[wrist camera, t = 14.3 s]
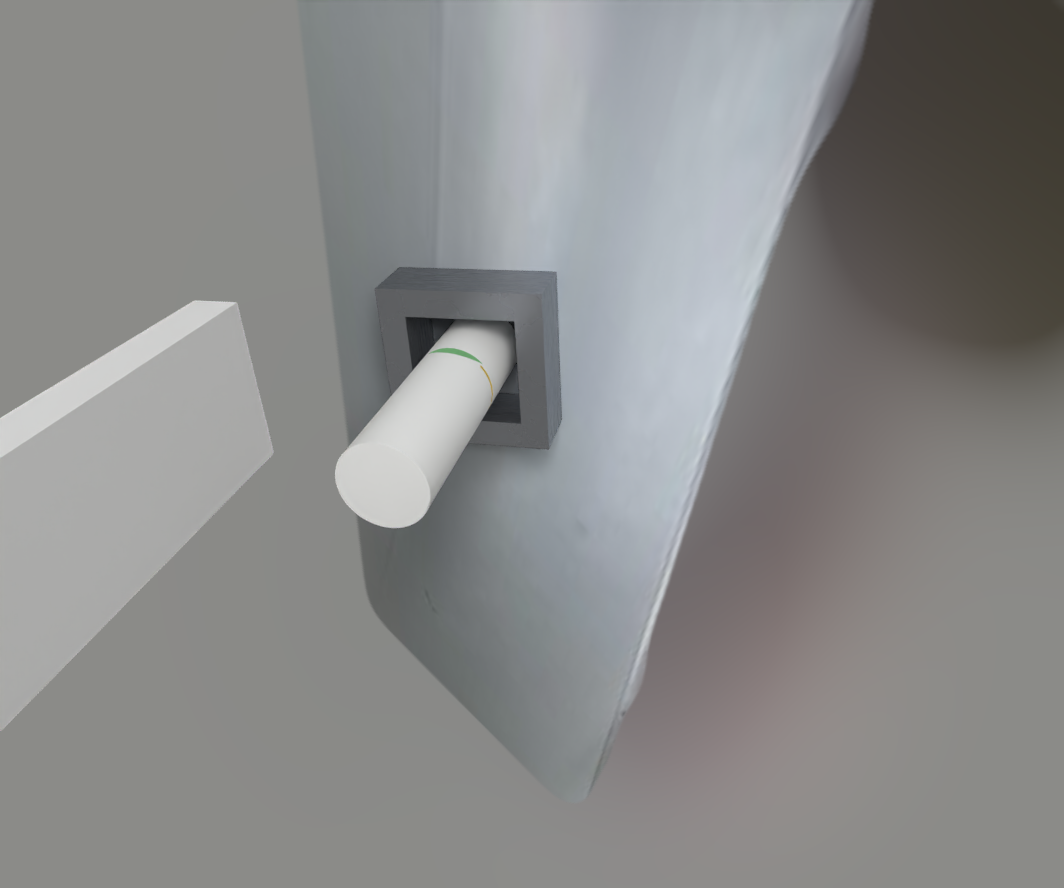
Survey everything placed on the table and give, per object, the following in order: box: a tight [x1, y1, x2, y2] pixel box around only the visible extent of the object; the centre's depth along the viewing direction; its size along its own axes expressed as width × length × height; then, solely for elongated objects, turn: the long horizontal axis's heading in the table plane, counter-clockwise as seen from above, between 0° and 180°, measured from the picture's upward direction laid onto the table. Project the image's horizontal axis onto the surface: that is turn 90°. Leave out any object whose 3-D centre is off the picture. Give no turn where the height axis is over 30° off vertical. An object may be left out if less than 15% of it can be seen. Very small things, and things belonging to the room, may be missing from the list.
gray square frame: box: [375, 267, 562, 449], centre depth 45 cm, size 9×9×4 cm
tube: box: [335, 319, 517, 528], centre depth 41 cm, size 4×4×15 cm
